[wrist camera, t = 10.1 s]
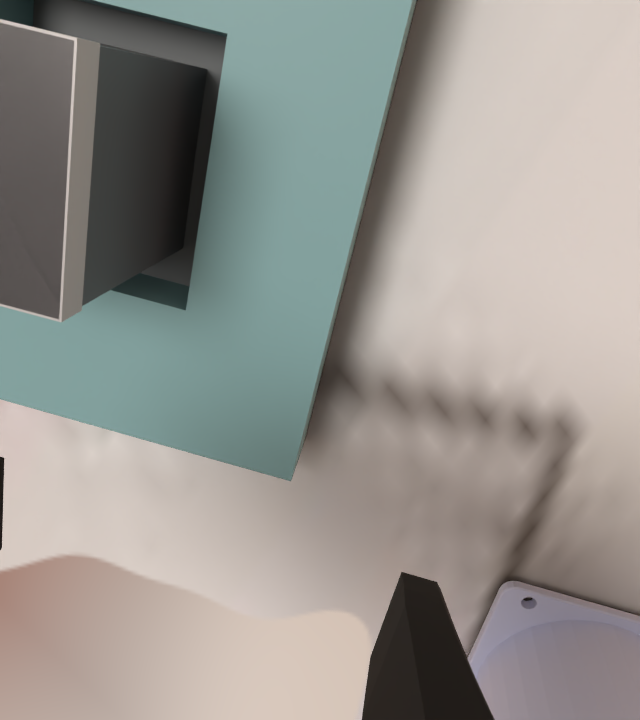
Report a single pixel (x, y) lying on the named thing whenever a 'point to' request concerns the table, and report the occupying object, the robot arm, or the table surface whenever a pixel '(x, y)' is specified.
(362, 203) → the outlet block
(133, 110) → the plug
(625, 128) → the table surface
